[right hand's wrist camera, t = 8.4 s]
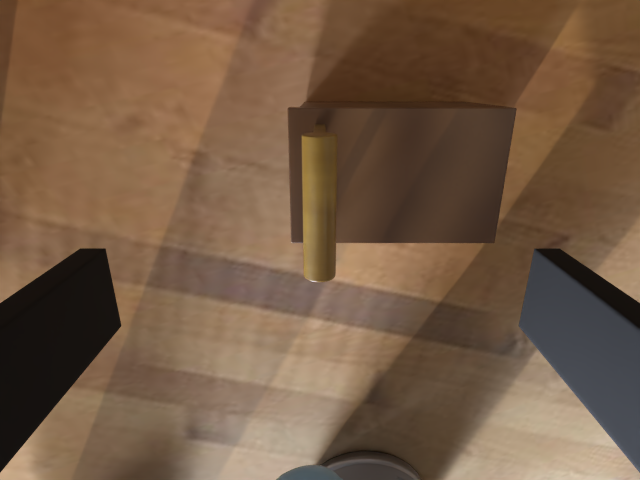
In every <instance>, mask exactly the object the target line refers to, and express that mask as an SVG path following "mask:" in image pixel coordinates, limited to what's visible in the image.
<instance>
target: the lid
mask: <svg viewBox="0 0 640 480" xmlns="http://www.w3.org/2000/svg"><path fill="white" fill-rule="evenodd" d="M515 115H516V108H512V107H289V108H288V138H289V175H290V212H291V242H292V243H303V254H304V277H305V278H306V279H308V280H310V281H313V282H326V281H330V280H332V279H333V278H334V277H335V272H336V243H494V242H495V236H496V230H497V224H498V218H499V212H500V206H501V199H502V193H503V187H504V181H505V175H506V169H507V163H508V157H509V151H510V145H511V139H512V133H513V127H514V121H515Z"/></svg>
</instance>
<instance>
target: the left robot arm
mask: <svg viewBox="0 0 640 480" xmlns="http://www.w3.org/2000/svg"><path fill="white" fill-rule="evenodd" d="M277 480H421V479H420V477H419V475H418V474H417V472H416V471H415V470H414V469H413V468H412V467H411V466H410V465H409V464H407V463H406V462H404V461H403V460H401V459H399V458H397V457H394V456H392V455H389V454H385V453H380V452H371V451H361V452H352V453H347V454H343V455H340V456H337V457H335V458H333V459H330V460H329V461H327V462H325V463H324V464H322V465H321V466H319V465H307V466H302V467H298V468H295V469H292V470H290V471H288V472H286V473H284V474H282V475H281V476H280V477H279V478H278V479H277Z"/></svg>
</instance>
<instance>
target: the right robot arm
mask: <svg viewBox="0 0 640 480" xmlns="http://www.w3.org/2000/svg"><path fill="white" fill-rule="evenodd" d="M120 327H121V322H120V317H119V312H118V308H117V303H116V298H115V293H114V288H113V283H112V278H111V273H110V268H109V263H108V259H107V254H106V249H79V250H78V251H76V252H75V253H73V254H72V255H70V256H69V257H67V258H66V259H64V260H63V261H62V262H60V263H59V264H57V265H56V266H54V267H53V268H51V269H50V270H48V271H47V272H45V273H44V274H42V275H41V276H39V277H38V278H37V279H35V280H34V281H32V282H31V283H29V284H28V285H26V286H25V287H23V288H22V289H20V290H19V291H17V292H16V293H15V294H13V295H12V296H10V297H9V298H7V299H6V300H4V301H3V302H1V303H0V472H1V471H2V470H3V469H4V467H5V466H6V465H7V464H8V463H9V461H10V460H11V459H12V458H13V456H14V455H15V454H16V453H17V452H18V450H19V449H20V448H21V447H22V446H23V444H24V443H25V442H26V441H27V440H28V438H29V437H30V436H31V435H32V433H33V432H34V431H35V430H36V429H37V427H38V426H39V425H40V424H41V423H42V421H43V420H44V419H45V418H46V416H47V415H48V414H49V413H50V412H51V410H52V409H53V408H54V407H55V406H56V404H57V403H58V402H59V401H60V400H61V398H62V397H63V396H64V395H65V393H66V392H67V391H68V390H69V389H70V387H71V386H72V385H73V384H74V383H75V381H76V380H77V379H78V378H79V377H80V375H81V374H82V373H83V372H84V370H85V369H86V368H87V367H88V366H89V364H90V363H91V362H92V361H93V360H94V358H95V357H96V356H97V355H98V354H99V352H100V351H101V350H102V349H103V347H104V346H105V345H106V344H107V343H108V341H109V340H110V339H111V338H112V337H113V335H114V334H115V333H116V332H117V331H118V329H119V328H120ZM519 327H520V328H521V329H522V331H523V332H524V333H525V334H526V335H527V337H528V338H529V339H530V340H531V341H532V343H533V344H534V345H535V346H536V347H537V349H538V350H539V351H540V352H541V354H542V355H543V356H544V357H545V358H546V360H547V361H548V362H549V363H550V364H551V366H552V367H553V368H554V369H555V370H556V372H557V373H558V374H559V375H560V377H561V378H562V379H563V380H564V381H565V383H566V384H567V385H568V386H569V387H570V389H571V390H572V391H573V392H574V393H575V395H576V396H577V397H578V398H579V400H580V401H581V402H582V403H583V404H584V406H585V407H586V408H587V409H588V410H589V412H590V413H591V414H592V415H593V416H594V418H595V419H596V420H597V421H598V423H599V424H600V425H601V426H602V427H603V429H604V430H605V431H606V432H607V433H608V435H609V436H610V437H611V438H612V440H613V441H614V442H615V443H616V444H617V446H618V447H619V448H620V449H621V450H622V452H623V453H624V454H625V455H626V456H627V458H628V459H629V460H630V461H631V463H632V464H633V465H634V466H635V467H636V469H637V470H638V471H639V472H640V303H639V302H637V301H636V300H634V299H633V298H631V297H630V296H628V295H627V294H625V293H624V292H623V291H621V290H620V289H618V288H617V287H615V286H614V285H612V284H611V283H609V282H608V281H606V280H605V279H603V278H602V277H600V276H599V275H598V274H596V273H595V272H593V271H592V270H590V269H589V268H587V267H586V266H584V265H583V264H581V263H580V262H578V261H577V260H576V259H574V258H573V257H571V256H570V255H568V254H567V253H565V252H564V251H562V250H561V249H534V254H533V259H532V263H531V268H530V273H529V278H528V283H527V288H526V293H525V298H524V303H523V308H522V312H521V317H520V322H519Z"/></svg>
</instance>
